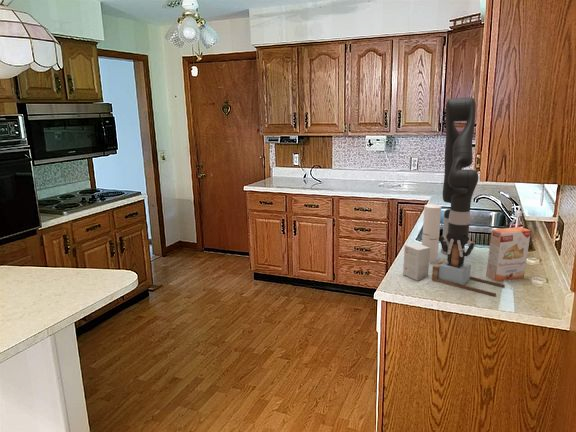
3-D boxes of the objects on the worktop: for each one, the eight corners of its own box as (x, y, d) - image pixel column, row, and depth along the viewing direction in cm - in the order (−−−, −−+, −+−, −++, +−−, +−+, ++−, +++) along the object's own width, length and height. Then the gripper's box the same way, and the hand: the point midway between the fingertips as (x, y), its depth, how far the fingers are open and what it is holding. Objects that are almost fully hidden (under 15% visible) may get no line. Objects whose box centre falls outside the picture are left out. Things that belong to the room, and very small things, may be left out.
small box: (428, 277, 182) (430, 247, 179) (416, 281, 179) (418, 250, 176) (413, 271, 189) (415, 242, 186) (402, 274, 186) (404, 244, 183)
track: (442, 274, 185) (444, 258, 183) (504, 290, 170) (506, 272, 168) (431, 282, 177) (432, 266, 175) (494, 299, 162) (497, 281, 160)
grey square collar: (447, 274, 183) (448, 259, 181) (469, 279, 177) (471, 264, 175) (438, 280, 176) (439, 265, 175) (460, 286, 170) (462, 270, 169)
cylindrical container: (424, 256, 208) (428, 203, 201) (439, 259, 203) (444, 205, 197) (418, 260, 202) (421, 206, 196) (433, 263, 198) (437, 208, 192)
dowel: (451, 270, 178) (454, 241, 175) (460, 272, 176) (463, 243, 173) (448, 272, 176) (451, 243, 173) (457, 275, 173) (459, 245, 170)
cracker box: (495, 284, 176) (501, 233, 170) (485, 278, 181) (490, 228, 176) (525, 280, 179) (531, 230, 174) (513, 274, 185) (520, 226, 180)
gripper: (481, 222, 169) (477, 265, 173) (444, 216, 178) (441, 257, 182) (474, 226, 163) (470, 271, 168) (437, 220, 172) (433, 262, 177)
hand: (455, 263), depth 175 cm, fingers closed on dowel, 3 cm apart
